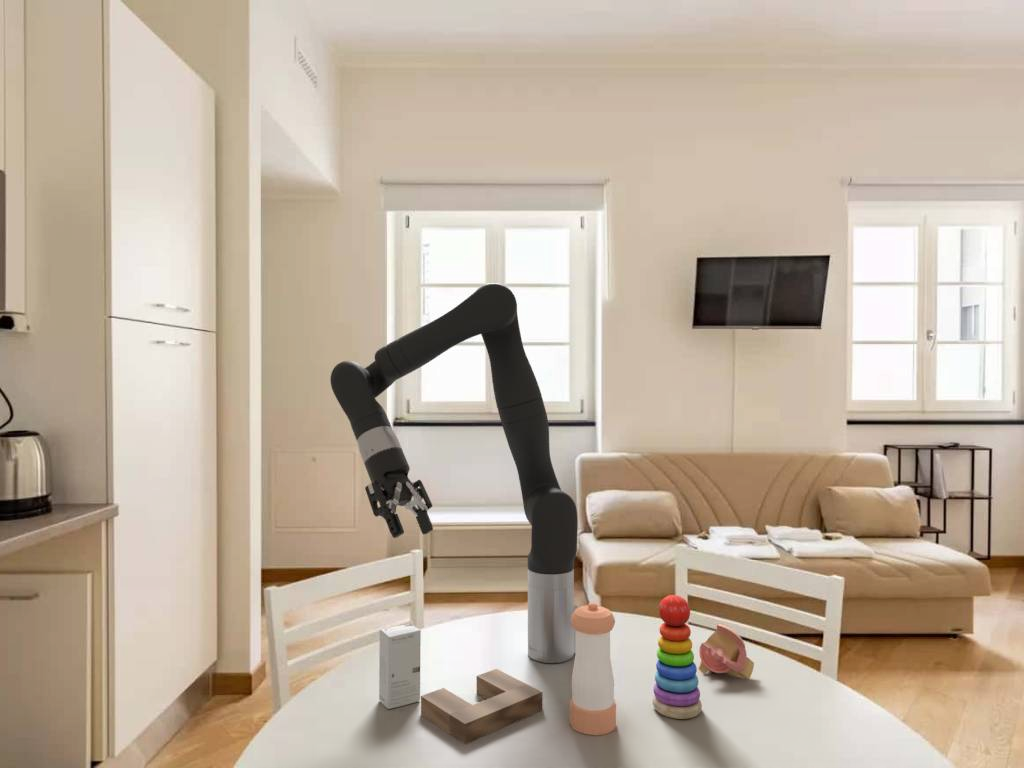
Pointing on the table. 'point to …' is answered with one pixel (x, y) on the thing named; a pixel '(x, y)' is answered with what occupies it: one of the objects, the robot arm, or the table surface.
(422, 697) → the notched board
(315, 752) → the table surface
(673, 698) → the stacking toy
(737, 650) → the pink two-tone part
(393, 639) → the skincare box
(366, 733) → the table surface
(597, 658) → the pepper shaker
